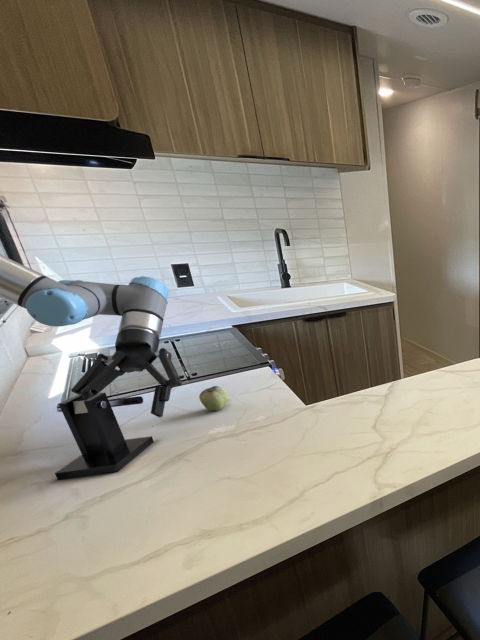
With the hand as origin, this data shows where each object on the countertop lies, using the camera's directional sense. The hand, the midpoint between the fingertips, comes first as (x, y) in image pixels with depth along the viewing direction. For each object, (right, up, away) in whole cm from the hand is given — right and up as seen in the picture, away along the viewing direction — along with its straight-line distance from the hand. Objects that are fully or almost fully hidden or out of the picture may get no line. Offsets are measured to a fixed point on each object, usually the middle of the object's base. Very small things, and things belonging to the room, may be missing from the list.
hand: (121, 419), depth 87 cm
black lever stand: (+2, -8, -4) cm, 9 cm away
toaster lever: (0, +2, -4) cm, 5 cm away
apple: (+8, +1, +19) cm, 20 cm away
